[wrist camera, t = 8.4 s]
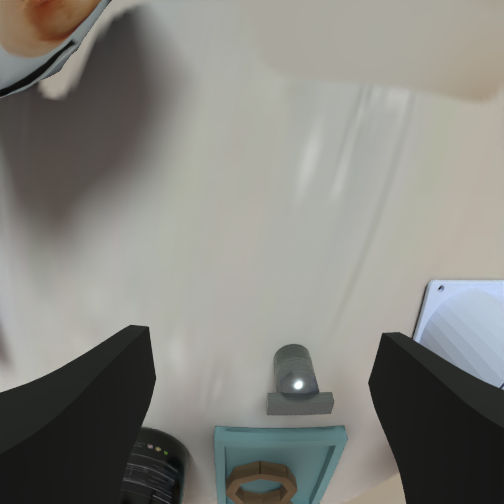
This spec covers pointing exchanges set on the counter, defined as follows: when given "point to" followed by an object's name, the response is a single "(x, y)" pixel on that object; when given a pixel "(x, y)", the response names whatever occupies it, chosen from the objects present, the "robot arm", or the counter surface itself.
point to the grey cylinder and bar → (297, 385)
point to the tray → (280, 457)
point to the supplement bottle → (155, 470)
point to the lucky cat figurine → (41, 38)
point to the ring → (275, 500)
